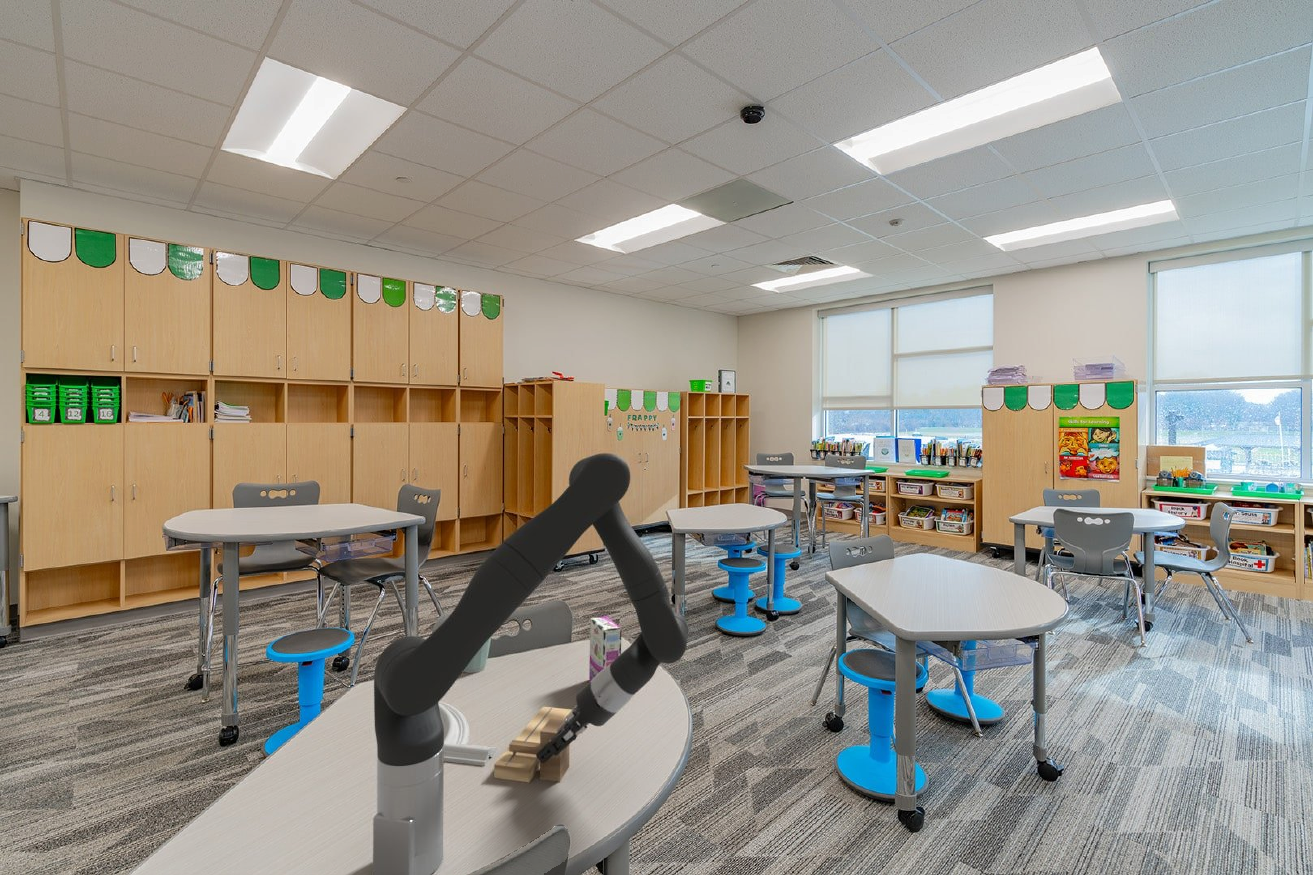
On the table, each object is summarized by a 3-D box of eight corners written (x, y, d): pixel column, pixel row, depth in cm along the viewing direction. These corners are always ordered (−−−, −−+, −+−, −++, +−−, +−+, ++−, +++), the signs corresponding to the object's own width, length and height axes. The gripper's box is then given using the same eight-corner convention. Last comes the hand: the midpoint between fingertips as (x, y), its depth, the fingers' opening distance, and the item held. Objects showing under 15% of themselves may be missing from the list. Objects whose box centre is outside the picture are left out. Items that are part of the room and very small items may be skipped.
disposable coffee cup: (481, 658, 169) (481, 605, 169) (501, 668, 162) (502, 614, 162) (446, 668, 161) (446, 613, 161) (466, 680, 154) (466, 622, 154)
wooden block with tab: (560, 781, 110) (560, 733, 110) (505, 774, 112) (505, 727, 112) (569, 766, 115) (569, 720, 115) (516, 760, 117) (516, 714, 117)
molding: (504, 762, 117) (504, 748, 117) (441, 782, 110) (441, 766, 110) (445, 686, 152) (446, 674, 152) (395, 697, 145) (395, 685, 145)
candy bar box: (621, 693, 147) (622, 627, 147) (602, 696, 145) (603, 630, 145) (606, 676, 157) (607, 615, 157) (588, 679, 155) (589, 617, 155)
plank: (529, 782, 109) (529, 768, 109) (494, 777, 111) (494, 763, 111) (572, 720, 133) (572, 709, 133) (543, 717, 134) (543, 706, 134)
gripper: (604, 663, 118) (547, 716, 121) (580, 694, 104) (517, 753, 106) (629, 692, 117) (572, 745, 120) (609, 727, 103) (545, 786, 105)
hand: (546, 748), depth 113 cm, fingers open, 6 cm apart
